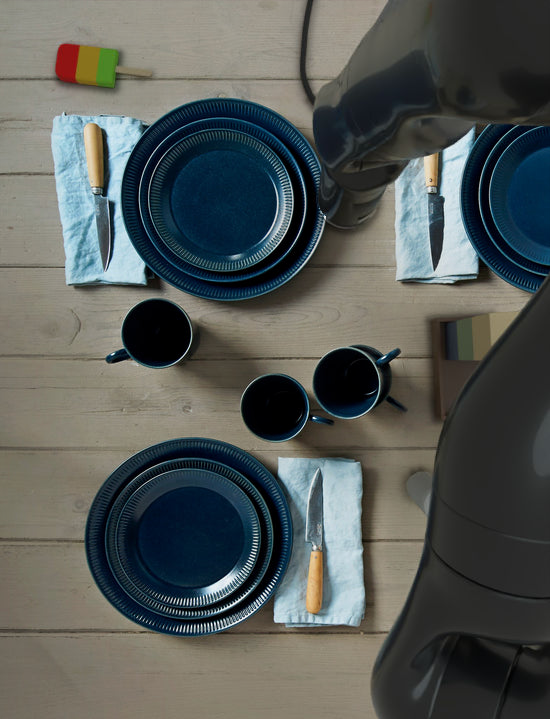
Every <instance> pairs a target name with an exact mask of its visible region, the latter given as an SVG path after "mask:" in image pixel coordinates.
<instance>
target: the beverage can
mask: <svg viewBox="0 0 550 719" xmlns="http://www.w3.org/2000/svg"><path fill="white" fill-rule="evenodd" d="M432 476H433V473H431V472H428V471H424V470H421V471H417V472H415V473H413V474H411V475H410V477H409V478H407V481H406V484H405V485H406V492H407V495H408V496H409V497H410V498H411V500H412V502H414V503H415V505H416V506H417V507H418V508H419V509H420V511H421V512H422V513H423V515H425V517H428V509H429V501H430V493H431V485H432Z"/></svg>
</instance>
